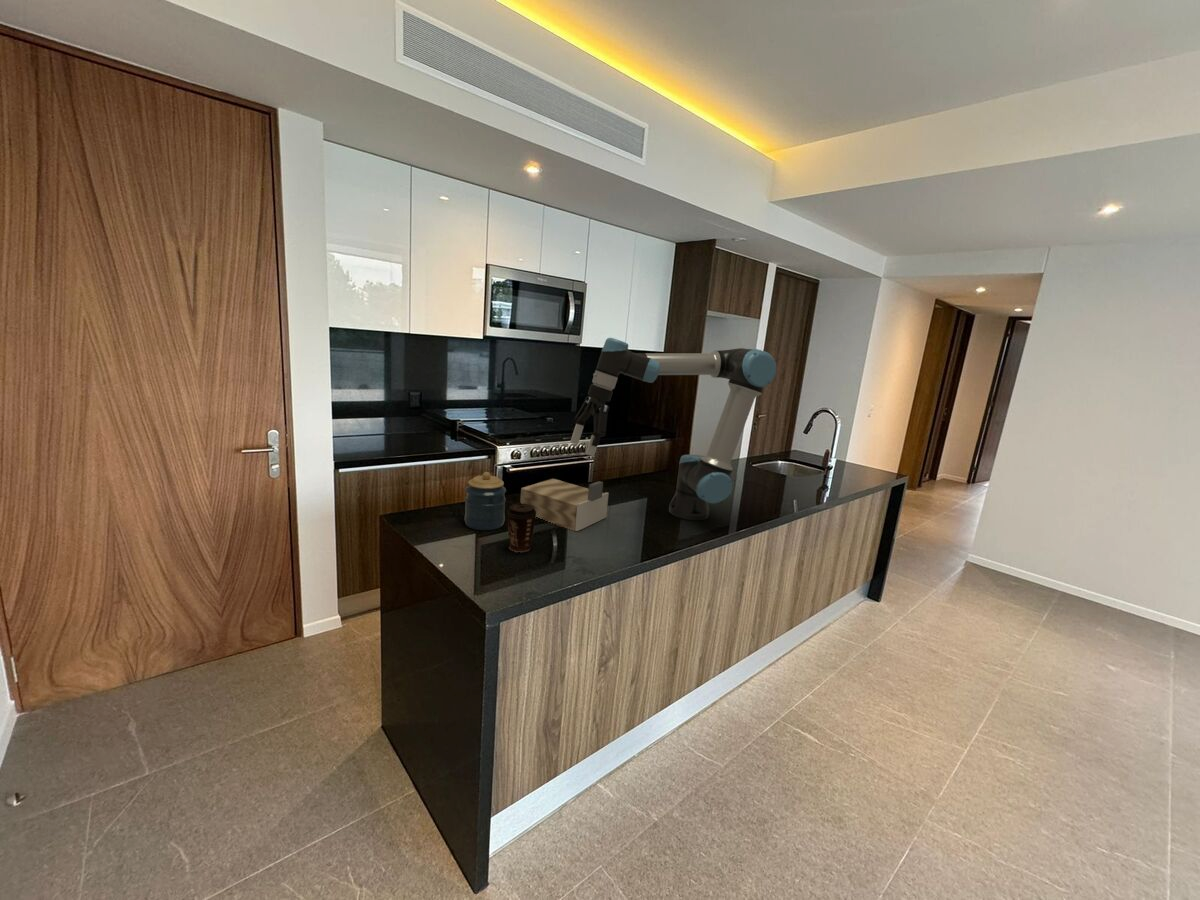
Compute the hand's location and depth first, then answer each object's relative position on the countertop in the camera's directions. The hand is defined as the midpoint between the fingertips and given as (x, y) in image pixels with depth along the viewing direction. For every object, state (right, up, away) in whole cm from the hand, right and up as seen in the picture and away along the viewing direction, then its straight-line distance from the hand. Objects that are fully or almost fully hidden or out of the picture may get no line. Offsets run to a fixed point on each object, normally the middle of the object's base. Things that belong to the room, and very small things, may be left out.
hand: (581, 449), depth 163 cm
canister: (-32, -25, +2) cm, 41 cm away
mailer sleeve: (-8, -24, +16) cm, 29 cm away
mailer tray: (-6, -24, +15) cm, 28 cm away
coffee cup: (-18, -30, -14) cm, 37 cm away
